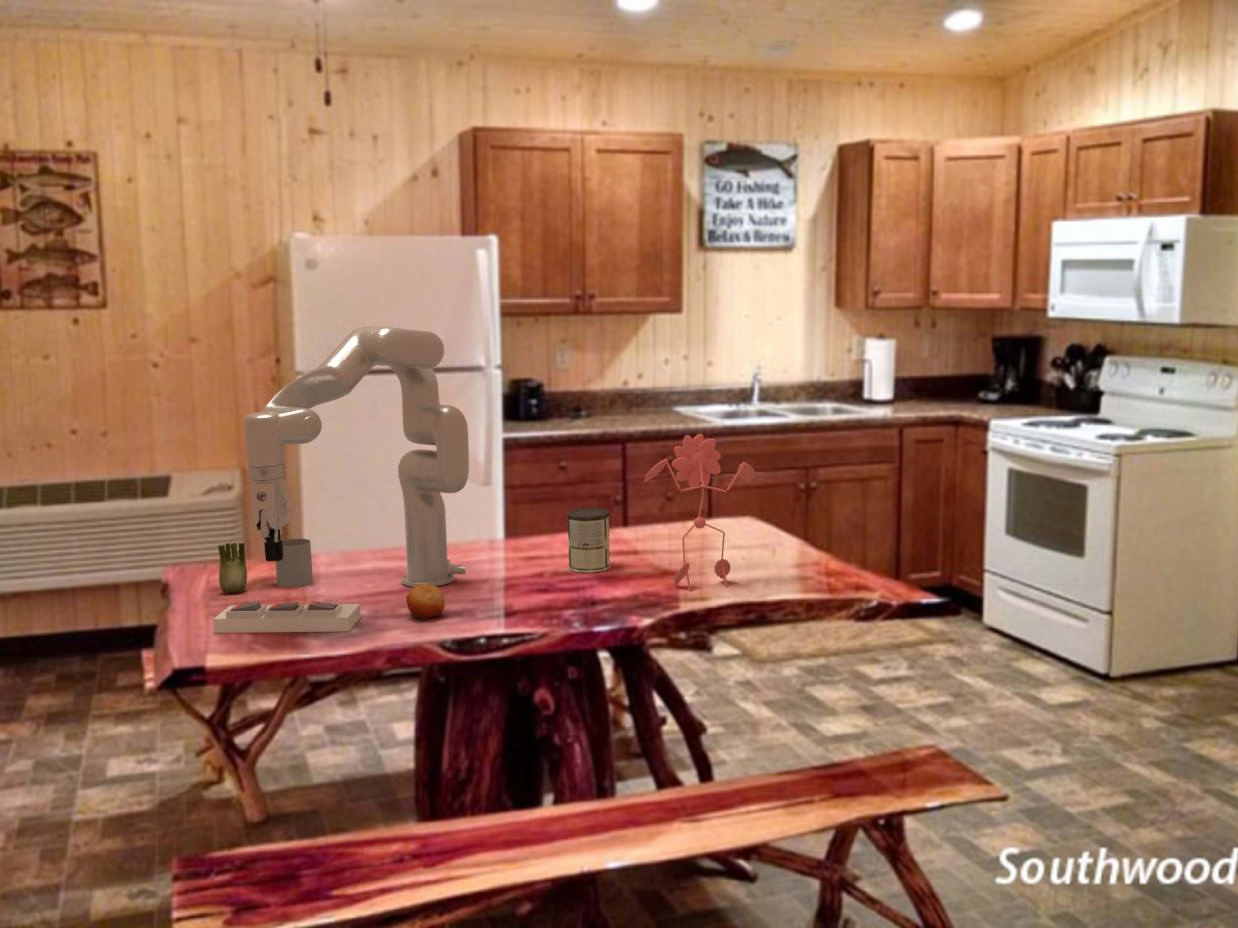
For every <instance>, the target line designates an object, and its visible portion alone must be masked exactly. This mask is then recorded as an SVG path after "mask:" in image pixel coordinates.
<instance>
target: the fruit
mask: <svg viewBox="0 0 1238 928" xmlns="http://www.w3.org/2000/svg"><path fill="white" fill-rule="evenodd" d="M405 598H406V599H405V600H406V604H407V608H408V611H409V612H410V616H411V615H412V616H413V617H415V618H417V619H419V620H421V621H423V620H422V619H425V620H427V619H432V618H435V617H438V616H440V615H441V614H442V613H443V612H444V611H445V610H444V609H445V594H444V592H443V591H442V590H440V588H439V586H432V585H430V584H427V583H423V584H419V585H417V586H415V587H411V589H410V590H409V591H408V593H407V594H406V597H405Z"/></svg>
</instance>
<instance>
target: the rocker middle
mask: <svg viewBox="0 0 1238 928" xmlns="http://www.w3.org/2000/svg"><path fill="white" fill-rule="evenodd" d="M272 605H273V606H272V607H271V608H270V611H292V610H296V609H297V608H298V607H299V606H298V605H299V602H298V601H294V602H283V603H274V604H272Z"/></svg>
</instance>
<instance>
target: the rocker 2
mask: <svg viewBox="0 0 1238 928" xmlns="http://www.w3.org/2000/svg"><path fill="white" fill-rule="evenodd" d="M337 604H338V603H329V602H323V601H317V600H312V601H311V602H310V603H309V604H308V605H309V607H308V610H334V609H335V608H336V606H337Z"/></svg>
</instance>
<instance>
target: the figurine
mask: <svg viewBox="0 0 1238 928" xmlns="http://www.w3.org/2000/svg"><path fill="white" fill-rule="evenodd" d="M683 437H684V438H683V440H682V446H680V445H676V446H675V447H674V451H673V452H674V455H675V457H676V459H673V461H672V462H671V465H670V463H669V459H668V458H664V459H663V460H660V461H659V462H658V463H656V464H655V465H654V466H652V468H651V469H650V470H649V471H648V472H647V474H646V475H645V478H644V480H643V481H644V483H646V482H648V481H650V480H652V479H654V478H655V477H656V476H657V475H658V474H659V473H661V472H662V470H663V469H664V468H665V466H667V468H668V470H669V472H670V474H671V476H672V478H673V482H675V485H676V487H677V489H678V490H679V493H683V492H687V491H692V490H696V489H701V497H700V503H699V505H700V506H699V511H698V515H697V517H696V518H695V519H694V520H693V525H692V526H691V527H690V528H689V529H688V530H687V531H686V533H685V534H684V535H683V537H682V555H683V556H682V557H683V558H682V559H683V565H682V566H681V567H680V569H679V570H678V571H677V573H676V574H675V575H673V576H668V577H662V578H660V579H659V580H656V582H654V584H656V583H658V582H660V581H662V580H665V579H670V578H674V582H673V583H674V586H678V584H679V583H680V582H681V581H682V580H683V579H684V578H685V577H686V581H687V588H688V591H689V592H690V591H691V592H692V585H691V581H690V576H691V575H694V573H689V569H690V566H691V565H690V563H689V562H686V552H685V537H687V536H688V534H689V533H690V532H691V531H692V530H693V528H694V527H695V528H696V529H703V528H705V527H706V526H707V527H709V528H711V529H713V530H715V531H718V532H720V533H722V544H721V557H720V558H721V559H719V560H717V561H716V563H715V565H714V567H713V568H714V570H713V571H714V573H715V575H716V576H717V577H719V578H720V579H721V580H723V581H724V585H725V587H729V584H728V580H727V576H728V575H729V574H730V571H731V564H730V562H729V561H728V560H727V559H724V547H725V536H726V533H725V531H723V530H721V529H720V528H716V527H715V526H712V525H710V524H708V523H707V521H706V520H705V518H704V517H703V516H701V514H702V509H703V504H704V498H705V489H710V490H713V491H717V492H722V493H726V494H727V493H728V492H729V491H730V490H731V488H732V486H733V485H734V483H735V481H736V480H737V478H738V477H740V478H741V479H742V480H744V482H747V483H750V482H751V481H752V480H753V479H754V477H755V470H754V467H752V466H751V464H750V463H747V462H746V461H743V462H742V463H740V464H739V465H738V468H737V472H736V474H735V476H733V478H732V480H731V482H730V483H729V485H728V486H727V488H726V489H722V488H718V487H715V486H713V487H712V486H709V484H710V482H711V481H710V480H711V476H712V475H719V474H720V473H721V470H722V468H721V465H720V463H719V462H718V461H719V460H720V459H721V457H722V456H721V453H720V452H718V451H717V450H715V448H716V444H717V439H714V438H713V437H712V438H711V437H710V438H707V439H705V438H704V435H703V434H702V433H699V434H696V435H695V436H694V438H692V436H691V435H689V434H687V435H684V436H683ZM671 466H672V467H673V469H675V470H676V471H678V472H677V473H676V475H675V473H674V471H673V469H672V467H671ZM678 481H679V482H684V481H688V482H687V484H688V487H687V488H683V489H682V488H681V485H680V484H679V482H678ZM700 483H701V484H700ZM699 484H700V485H699ZM706 574H707V573H703V575H706ZM750 584H752V582H750Z"/></svg>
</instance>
